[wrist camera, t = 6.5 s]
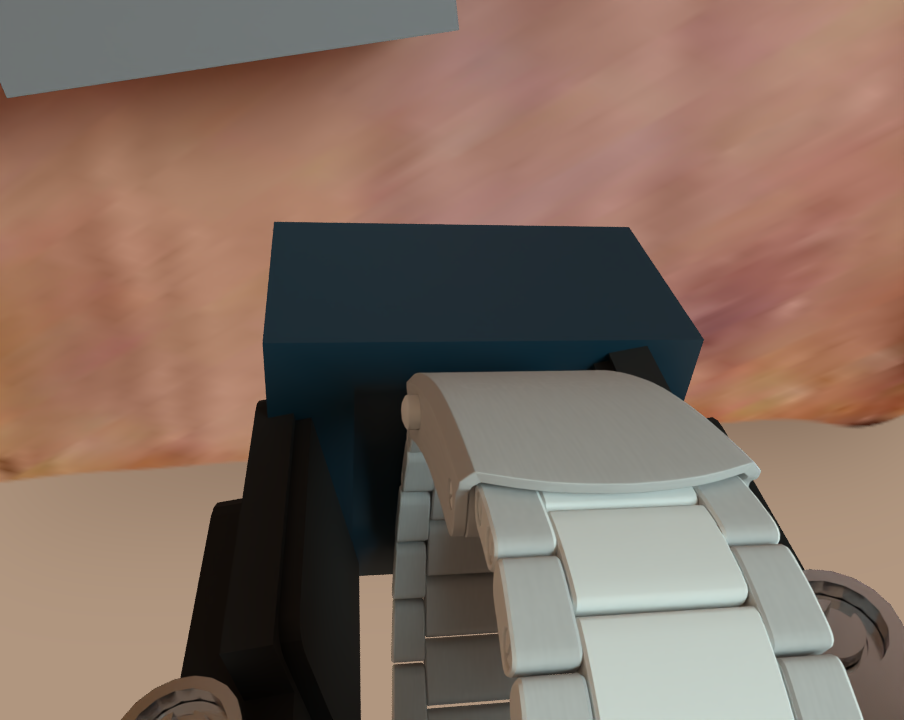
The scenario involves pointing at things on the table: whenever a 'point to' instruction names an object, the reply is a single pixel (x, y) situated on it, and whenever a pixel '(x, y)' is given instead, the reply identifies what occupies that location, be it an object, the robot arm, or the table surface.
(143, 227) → the table surface
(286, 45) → the base block
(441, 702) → the watch
